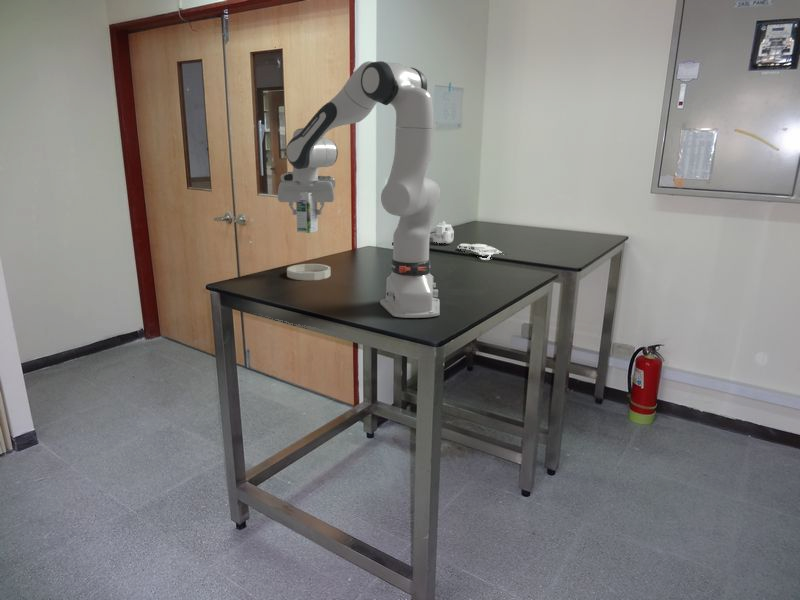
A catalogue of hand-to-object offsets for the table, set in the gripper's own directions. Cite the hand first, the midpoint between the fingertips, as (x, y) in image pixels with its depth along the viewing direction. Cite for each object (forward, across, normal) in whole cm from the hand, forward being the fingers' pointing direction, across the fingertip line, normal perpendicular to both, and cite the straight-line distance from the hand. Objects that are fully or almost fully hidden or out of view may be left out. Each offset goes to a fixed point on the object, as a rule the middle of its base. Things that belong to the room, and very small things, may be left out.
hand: (307, 214), depth 197 cm
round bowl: (+23, 0, 0) cm, 23 cm away
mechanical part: (+23, -63, -63) cm, 92 cm away
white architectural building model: (+24, -79, -38) cm, 91 cm away
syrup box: (+6, 0, 0) cm, 6 cm away
